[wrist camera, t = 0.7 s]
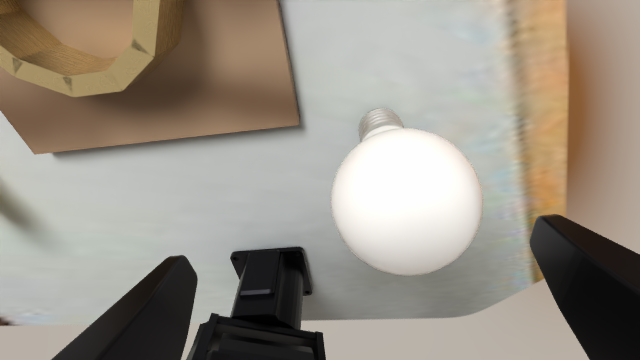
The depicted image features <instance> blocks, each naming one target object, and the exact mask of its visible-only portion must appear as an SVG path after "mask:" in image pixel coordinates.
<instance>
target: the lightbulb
mask: <svg viewBox="0 0 640 360" xmlns="http://www.w3.org/2000/svg"><path fill="white" fill-rule="evenodd" d="M359 136H360V141H361V143H359V144H358V145H357V146H356V147H354V148H353V149H352V150H351V151H350V152H349V154H348V155H347V156H346V157H345V159H344V160H343V161H342V163H341V165H340V166H339V168H338V170H337V173H336V175H335V178H334V181H333V185H332V190H331V211H332V216H333V220H334V224H335V226H336V229H337V231H338V233H339V235H340V237H341V239H342V240H343V242H344V243H345V245H346V246H347V247H348V248H349V250H350V251H351V252H352V253H353V254H354V255H355V256H356V257H358V258H359V259H360V260H361V261H363V262H364V263H366V264H367V265H369V266H371V267H373V268H375V269H377V270H380V271H382V272H386V273H389V274H394V275H401V276H415V275H423V274H427V273H431V272H434V271H437V270H439V269H441V268H443V267H445V266H447V265H449V264H450V263H452V262H453V261H455V260H456V259H457V258H458V257H459V256H461V255H462V254H463V253H464V252H465V250H466V249H467V248H468V247H469V245H470V244H471V243H472V241H473V239H474V238H475V236H476V234H477V231H478V229H479V226H480V223H481V219H482V213H483V194H482V188H481V184H480V181H479V178H478V176H477V173H476V171H475V169H474V167H473V166H472V164H471V163H470V161H469V160H468V158H467V157H466V156H465V155H464V154H463V153H462V152H461V151H460V150H459V149H458V148H457V147H456V146H455V145H453V144H452V143H451V142H449V141H448V140H446V139H444V138H443V137H441V136H439V135H436V134H434V133H431V132H428V131H424V130H420V129H412V128H404V126H403V124H402V122H401V119H400V117H399V116H398V115H397V114H396V113H395V112H394V111H392V110H390V109H385V108H379V109H375V110H372V111H370V112H369V113H367V114H366V115H365V116H364V117H363V118H362V120H361V122H360V125H359Z"/></svg>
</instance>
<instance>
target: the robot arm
mask: <svg viewBox="0 0 640 360" xmlns="http://www.w3.org/2000/svg"><path fill="white" fill-rule="evenodd" d="M530 247H531V250H532V252H533V254H534V256H535V259H536V261H537V263H538V265H539V267H540V269H541V271H542V274H543V276H544V278H545V280H546V282H547V284H548V286H549V289H550V291H551V293H552V295H553V297H554V299H555V301H556V303H557V305H558V307H559V309H560V311H561V312H562V314H563V316H564V317H565V319H566V321H567V323H568V324H569V326H570V328H571V329H572V331H573V333H574V334H575V336H576V338H577V339H578V341H579V343H580V344H581V346H582V347H583V349H584V351H585V352H586V354H587V356H588V358H589V359H590V360H640V254H638V253H635V252H634V251H632V250H629V249H627V248H625V247H623V246H621V245H619V244H617V243H615V242H613V241H611V240H609V239H607V238H605V237H603V236H601V235H599V234H597V233H595V232H593V231H591V230H589V229H587V228H585V227H583V226H581V225H579V224H577V223H575V222H573V221H571V220H569V219H567V218H565V217H563V216H561V215H558V214H552V215H543V216H539V217H538V218H537V219H536V221H535V224H534V228H533V231H532V234H531V237H530ZM230 259H231V262H232V264H233V266H234V268H235V270H236V273H237V275H238V277H239V279H240V282H239V286H238V289H237V293H236V297H235V300H234V304H233V308H232V312H231V315H230V317H224V316H219V314H215V313H211V316H210V319H209V321H207V322H206V323H203V324H200V326H199V329H198V332H197V335H196V337H195V340H194V343H193V346H192V348H191V351H190V352H189V355H188V357H187V359H186V360H326V357H325V349H324V342H323V333H322V332H309V331H303V330H300V327H301V314H302V300H303V296H306V295H311V294H312V284H311V280H310V276H309V272H308V267H307V263H306V259H305V255H304V251H303V249H302V248H300V247H290V248H277V249H264V250H250V251H237V252H233V253H232V254H231V257H230ZM196 288H197V274H196V272H195V271H194V269H193V267H192V266H191V264H190V262H189V261H188V259H187V258H186V257H185V256H184V255H179V256H170V257H168V258H166V259H165V260H164V261H163V262H162V263H161V264H159V265H158V266H157V267H156V268H155V269H154V270H153V271H152V272H150V273H149V274H148V275H147V276H146V277H145V278H144V279H142V280H141V281H140V282H139V283H138V284H137V285H136V286H134V287H133V288H132V289H131V290H130V291H129V292H128V293H126V294H125V295H124V296H123V297H122V298H121V299H120V300H119V301H117V302H116V303H115V304H114V305H113V306H112V307H111V308H109V309H108V310H107V311H106V312H105V313H104V314H103V315H101V316H100V317H99V318H98V319H97V320H96V321H95V322H93V323H92V324H91V325H90V326H89V327H88V328H87V329H86V330H84V331H83V332H82V333H81V334H80V335H79V336H78V337H77V338H75V339H74V340H73V341H72V342H71V343H70V344H68V345H67V346H66V347H65V348H64V349H63V350H62V351H60V352H59V353H58V354H57V355H56V356H55V357H54V358H52V360H181V357H182V353H183V350H184V347H185V343H186V339H187V335H188V330H189V325H190V320H191V315H192V309H193V304H194V298H195V293H196Z"/></svg>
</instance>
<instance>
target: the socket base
mask: <svg viewBox="0 0 640 360" xmlns="http://www.w3.org/2000/svg"><path fill="white" fill-rule="evenodd" d="M18 2H19V3H20V5H21V7H22V8H23V10H24V11H25V12H27V13H28V14H29V15H30V16H31V17H32V18H34V19H35V20H36V21H37V22H38V23H39V24H41V25H42V26H43V27H44V28H45V29H46V30H48V31H49V32H50V33H51V34H52V35H53V36H54V37H56V38H57V39H58V40H59V41H60V42H61V43H63V44H65V45H67V46H70V47H73V48H75V49H78V50H81V51H83V52H86V53H89V54H91V55H94V56H96V57H99V58H102V59H109V58H116V57H119V56H120V55H121V54H122V53H123V52H124V50H125V49H126V48H127V47H128V46H129V45H130V44H131V41H132V21H133V2H134V0H18ZM0 111H1V112H2V113H3V114H4V116H5V117H6V118H7V120H8V121H9V122H10V123H11V125H12V126H13V127H14V129H15V130H16V131H17V132H18V134H19V135H20V136H21V138H22V139H23V140H24V141H25V143H26V144H27V145H28V147H29V148H30V149H31V150H32V152H33V153H34V154H43V153H52V152H61V151H70V150H79V149H88V148H97V147H106V146H115V145H124V144H133V143H142V142H151V141H160V140H169V139H178V138H187V137H196V136H205V135H213V134H222V133H231V132H240V131H249V130H258V129H267V128H276V127H285V126H294V125H299V121H300V115H299V110H298V104H297V99H296V93H295V88H294V82H293V76H292V71H291V65H290V60H289V54H288V49H287V43H286V38H285V32H284V27H283V21H282V16H281V10H280V5H279V0H186V2H185V9H184V16H183V23H182V31H181V38H180V42H179V44H178V45H177V46H176V47H175V48H174V49H173V50H172V51H171V52H170V53H169V54H168V55H167V56H166V57H165V58H164V59H163V61H162V62H161V63H160V64H159V65H158V66H157V67H156V68H155V69H154V70H153V71H152V72H151V73H149V74H147V75H146V76H144V77H143V78H141V79H140V80H138V81H137V82H135V83H134V84H132V85H131V86H129V87H128V88H126V89H125V90H123V91H119V92H111V93H104V94H96V95H88V96H80V97H71V96H68V95H66V94H63V93H60V92H57V91H54V90H51V89H48V88H45V87H42V86H40V85H37V84H34V83H31V82H28V81H25V80H22V79H19V78H16V77H15V76H13V75H11V74H10V73H9V72H7V71H6V70H5V69H3V68H2V67H1V66H0Z"/></svg>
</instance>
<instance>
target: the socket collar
mask: <svg viewBox="0 0 640 360" xmlns="http://www.w3.org/2000/svg"><path fill="white" fill-rule="evenodd" d="M185 2H186V0H134V2H133V21H132V41H131V44H130V45H129V46H128V47H127V48H126V49H125V50H124V52H123V53H122V54H121V55H120V56H119V57H116V58H109V59H102V58H99V57H96V56H94V55H91V54H89V53H86V52H83V51H81V50H78V49H75V48H73V47H70V46H67V45H65V44H63V43H61V42H60V41H59V40H58V39H57V38H56V37H54V36H53V35H52V34H51V33H50V32H49V31H48V30H46V29H45V28H44V27H43V26H42V25H41V24H39V23H38V22H37V21H36V20H35V19H34V18H32V17H31V16H30V15H29V14H28V13H27V12H25V11H24V10H23V8H22V7H21V5H20V3H19V2H18V0H0V66H1V67H2V68H3V69H5V70H6V71H7V72H9V73H10V74H11V75H13V76H15V77H16V78H19V79H22V80H25V81H28V82H31V83H34V84H37V85H40V86H42V87H45V88H48V89H51V90H54V91H57V92H60V93H63V94H66V95H68V96H71V97H80V96H88V95H96V94H104V93H111V92H119V91H123V90H125V89H126V88H128V87H129V86H131V85H132V84H134V83H135V82H137V81H138V80H140V79H141V78H143V77H144V76H146V75H147V74H149V73H151V72H152V71H153V70H154V69H155V68H156V67H157V66H158V65H159V64H160V63H161V62H162V61H163V59H164V58H165V57H166V56H167V55H168V54H169V53H170V52H171V51H172V50H173V49H174V48H175V47H176V46H177V45H178V44H179V42H180V38H181V31H182V23H183V16H184V9H185Z"/></svg>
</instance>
